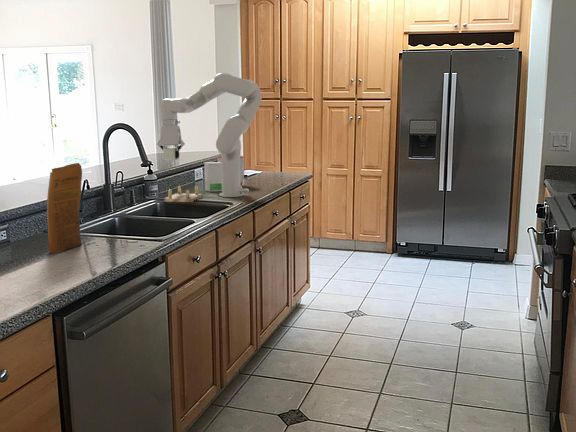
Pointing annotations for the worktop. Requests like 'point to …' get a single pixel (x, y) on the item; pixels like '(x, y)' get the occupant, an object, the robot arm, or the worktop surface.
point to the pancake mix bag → (64, 208)
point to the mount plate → (182, 196)
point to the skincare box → (213, 176)
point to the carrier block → (169, 154)
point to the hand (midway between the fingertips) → (171, 158)
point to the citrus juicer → (240, 167)
